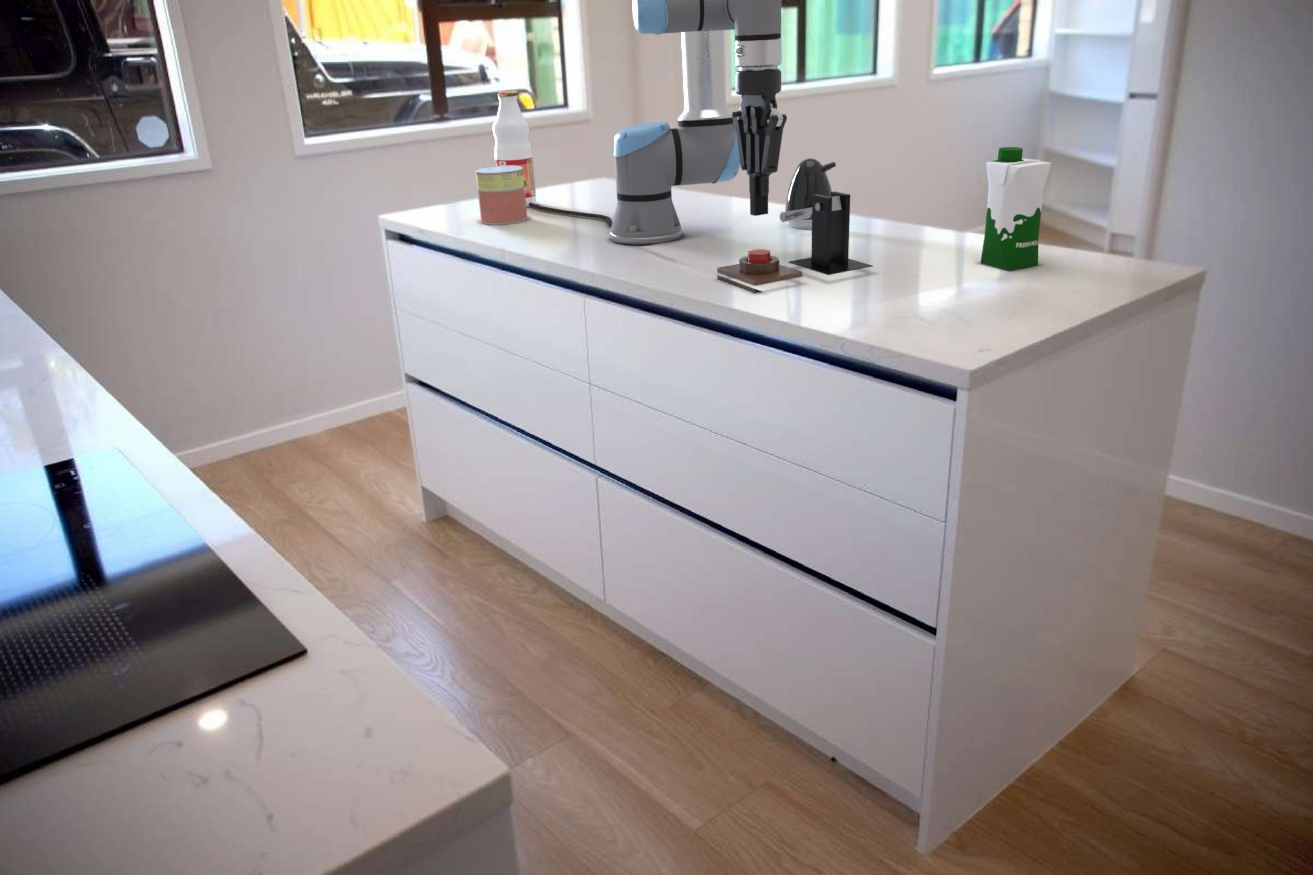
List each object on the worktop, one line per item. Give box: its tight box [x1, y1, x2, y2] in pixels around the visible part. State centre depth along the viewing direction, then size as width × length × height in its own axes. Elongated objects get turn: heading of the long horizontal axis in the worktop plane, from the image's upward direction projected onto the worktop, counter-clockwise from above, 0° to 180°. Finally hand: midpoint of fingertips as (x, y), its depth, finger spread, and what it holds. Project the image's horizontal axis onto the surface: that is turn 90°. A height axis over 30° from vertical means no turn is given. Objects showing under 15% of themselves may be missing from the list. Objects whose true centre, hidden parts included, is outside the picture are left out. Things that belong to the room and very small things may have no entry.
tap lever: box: [779, 196, 842, 223], centre depth 181 cm, size 13×6×2 cm, turn 29°
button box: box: [716, 255, 803, 294], centre depth 175 cm, size 12×10×4 cm
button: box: [747, 248, 772, 263], centre depth 174 cm, size 4×4×2 cm
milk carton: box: [979, 146, 1052, 271], centre depth 176 cm, size 9×9×20 cm
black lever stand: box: [787, 190, 874, 276], centre depth 178 cm, size 12×10×14 cm
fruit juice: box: [492, 90, 537, 208], centre depth 252 cm, size 9×9×28 cm
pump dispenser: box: [784, 157, 837, 230], centre depth 210 cm, size 10×10×15 cm
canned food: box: [474, 165, 529, 226], centre depth 238 cm, size 11×11×12 cm
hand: (759, 214), depth 171 cm, fingers closed
